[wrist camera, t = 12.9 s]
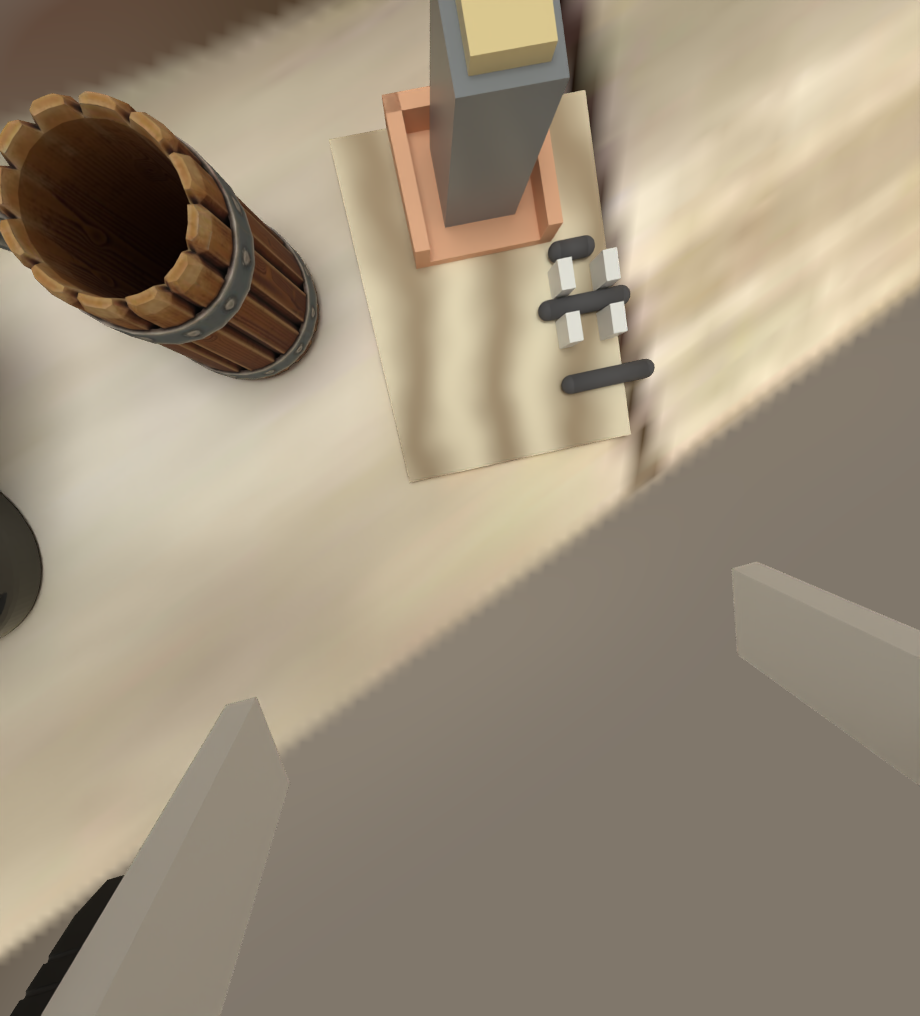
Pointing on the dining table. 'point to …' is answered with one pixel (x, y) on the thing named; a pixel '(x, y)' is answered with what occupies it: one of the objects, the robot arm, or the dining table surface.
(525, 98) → the grey tall block
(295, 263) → the mug
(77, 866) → the dining table surface
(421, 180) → the end holder
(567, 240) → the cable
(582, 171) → the board
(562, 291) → the cable clips
